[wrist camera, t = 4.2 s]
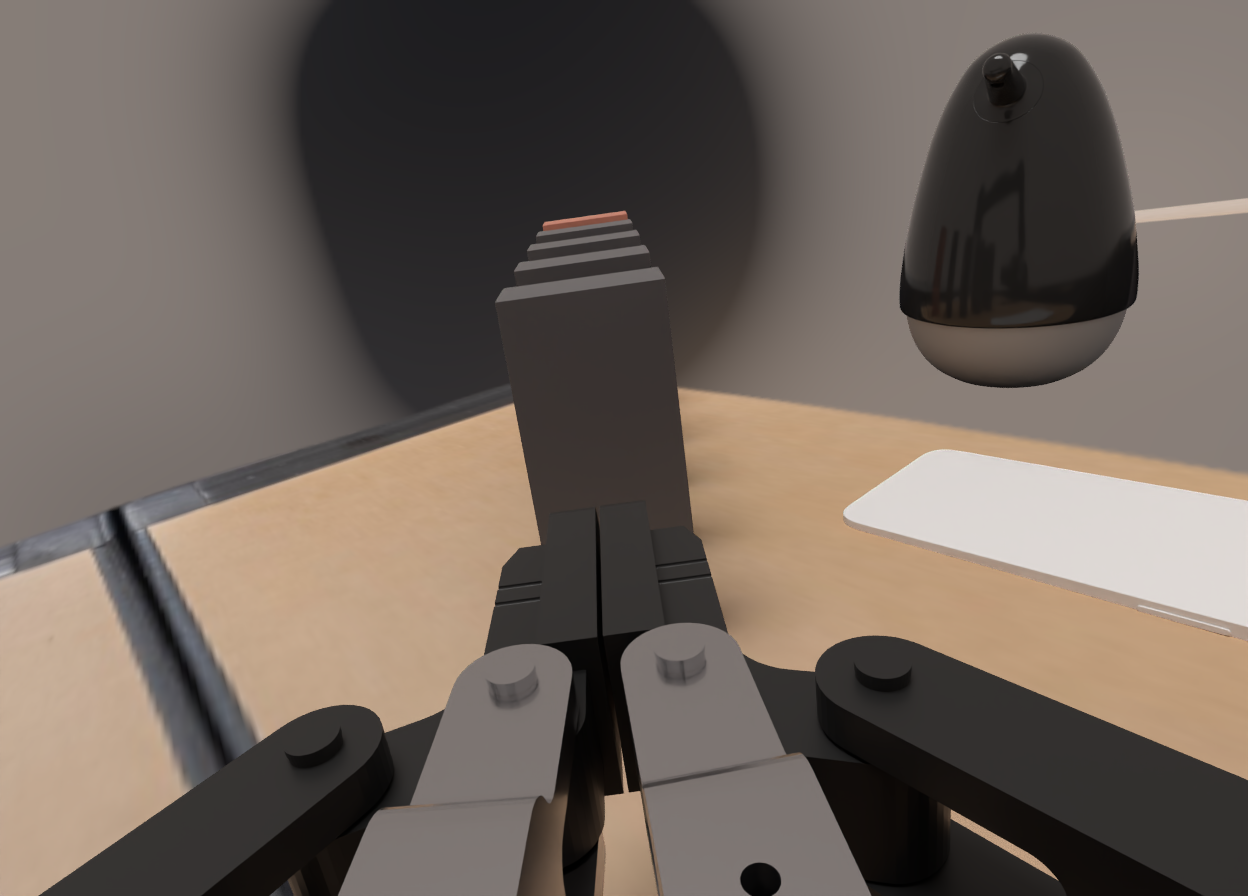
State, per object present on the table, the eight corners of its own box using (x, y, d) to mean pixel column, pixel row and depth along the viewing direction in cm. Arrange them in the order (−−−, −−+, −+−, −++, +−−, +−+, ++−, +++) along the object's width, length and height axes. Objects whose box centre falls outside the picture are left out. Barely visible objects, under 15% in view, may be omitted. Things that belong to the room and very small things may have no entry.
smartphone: (935, 446, 31) (1481, 540, 21) (935, 463, 32) (1475, 565, 21) (831, 516, 27) (1457, 684, 16) (832, 536, 27) (1449, 713, 17)
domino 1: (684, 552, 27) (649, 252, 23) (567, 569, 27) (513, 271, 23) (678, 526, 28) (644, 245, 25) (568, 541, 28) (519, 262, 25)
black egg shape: (870, 398, 38) (863, 54, 33) (930, 342, 46) (933, 55, 41) (1116, 416, 32) (1156, 0, 27) (1138, 347, 40) (1173, 13, 35)
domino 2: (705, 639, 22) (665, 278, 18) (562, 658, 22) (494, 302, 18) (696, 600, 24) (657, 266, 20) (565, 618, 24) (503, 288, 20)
